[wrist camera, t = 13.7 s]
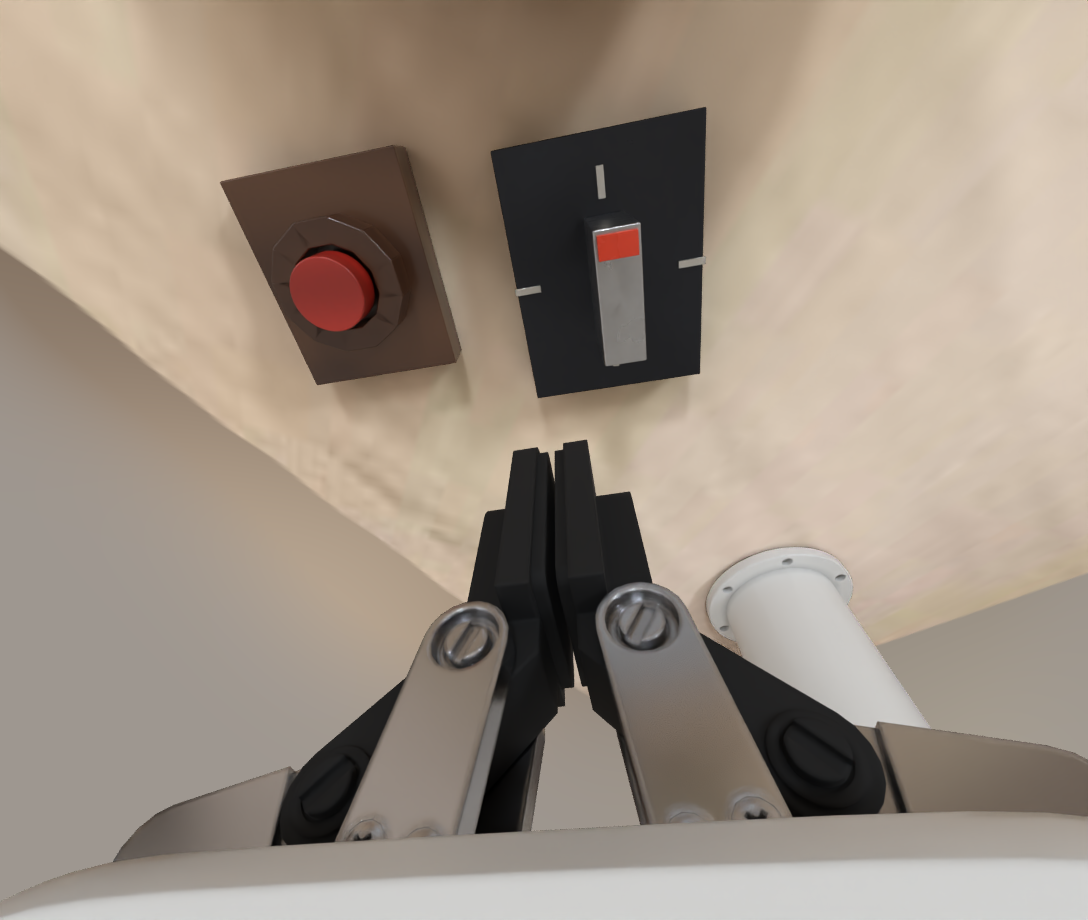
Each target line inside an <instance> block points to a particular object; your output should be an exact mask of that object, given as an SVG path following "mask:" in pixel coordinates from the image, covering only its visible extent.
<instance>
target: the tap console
mask: <svg viewBox="0 0 1088 920" xmlns="http://www.w3.org/2000/svg"><path fill="white" fill-rule="evenodd" d="M705 143H706V107H703V108H698V109H693V110H688V111H683V112H678V113H674V114H669V115H664V116H659V117H654V118H649V119H644V120H639V121H635V122H630V123H625V124H620V125H615V126H610V127H605V128H600V129H596V130H591V131H586V132H581V133H576V134H571V135H566V136H561V137H557V138H552V139H547V140H542V141H537V142H532V143H527V144H522V145H518V146H513V147H508V148H503V149H498V150H493V151H491V157H492V162H493V167H494V172H495V178H496V183H497V188H498V193H499V199H500V204H501V209H502V214H503V219H504V225H505V230H506V235H507V240H508V245H509V251H510V256H511V261H512V266H513V271H514V277H515V282H516V287H517V289H515V293H516V297H517V296H518V297H519V303H520V308H521V313H522V318H523V323H524V329H525V334H526V339H527V344H528V349H529V355H530V360H531V365H532V370H533V375H534V381H535V386H536V391H537V396H538V398H542V397H549V396H555V395H562V394H569V393H575V392H582V391H588V390H595V389H602V388H608V387H615V386H621V385H628V384H635V383H641V382H648V381H654V380H661V379H668V378H674V377H681V376H688V375H694V374H700V349H701V308H702V267H703V264H706V257H705V256H703V225H704V184H705ZM620 211H623V212H625V213H626V214H628V215H629V216H631V217H632V218H634V219H636V220H637V221H639V222H640V223H641V243H642V266H643V288H644V311H645V333H646V356H647V359H646V360H644V361H637V362H631V363H624V364H618V365H612V366H605V363H604V360H603V356H602V353H601V349H600V346H599V343H598V339H597V336H596V331H595V321H594V312H593V302H592V293H591V284H590V274H589V265H588V255H587V246H586V236H585V227H584V218H588V217H593V216H598V215H604V214H609V213H614V212H620Z"/></svg>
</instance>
